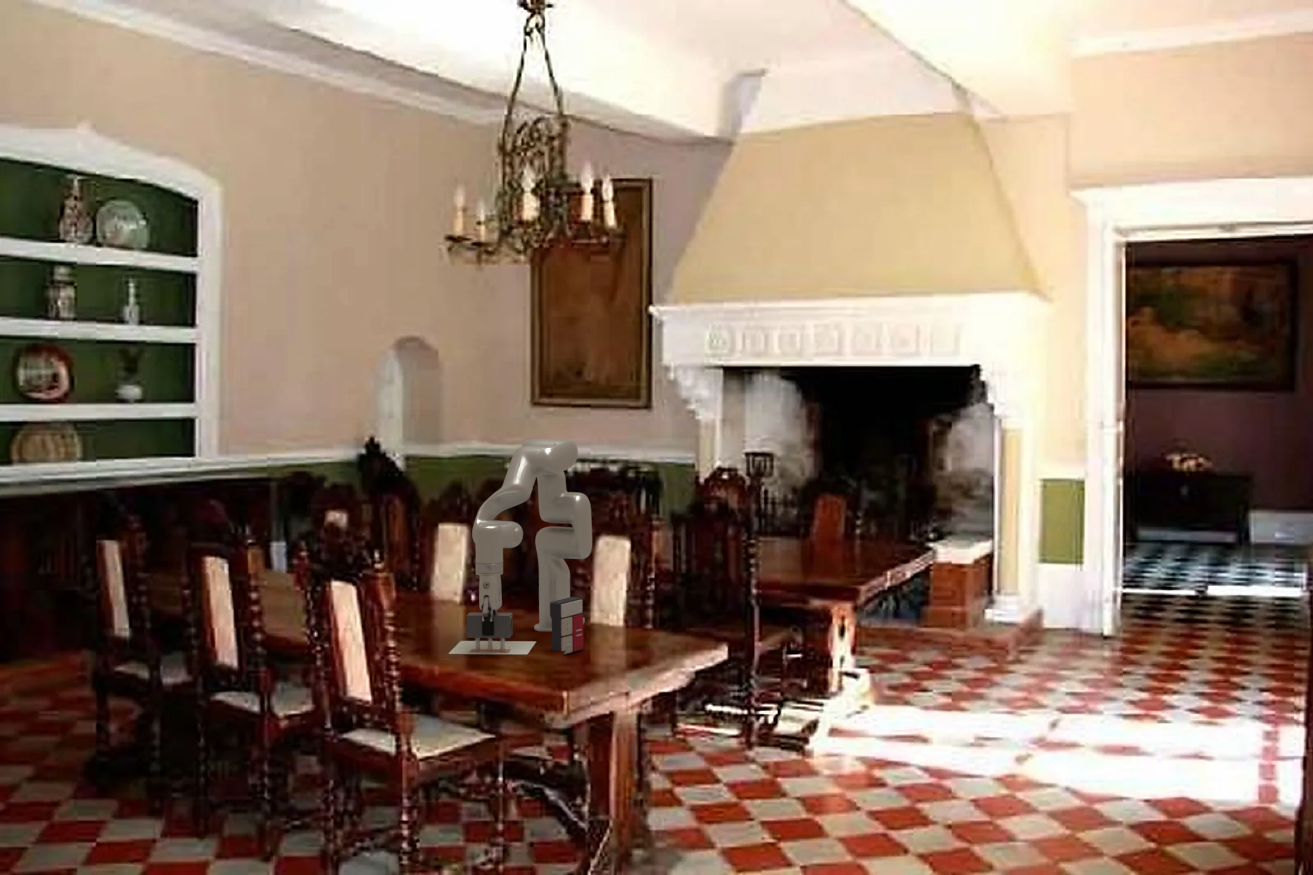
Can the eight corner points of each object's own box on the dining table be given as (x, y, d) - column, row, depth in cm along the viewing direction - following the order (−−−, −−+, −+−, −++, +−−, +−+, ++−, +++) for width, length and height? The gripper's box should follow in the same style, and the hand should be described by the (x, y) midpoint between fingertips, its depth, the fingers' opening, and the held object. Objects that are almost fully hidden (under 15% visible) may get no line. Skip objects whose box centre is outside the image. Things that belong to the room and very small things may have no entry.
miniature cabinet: (562, 656, 388) (562, 603, 387) (549, 655, 390) (549, 602, 389) (585, 650, 397) (584, 597, 396) (572, 648, 399) (572, 596, 399)
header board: (536, 646, 402) (536, 626, 402) (527, 659, 384) (527, 638, 384) (460, 646, 403) (460, 625, 403) (448, 659, 385) (448, 637, 385)
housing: (512, 634, 390) (512, 612, 390) (509, 638, 385) (509, 615, 385) (470, 634, 391) (469, 612, 391) (466, 637, 386) (466, 615, 386)
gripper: (497, 573, 379) (498, 639, 380) (507, 564, 396) (507, 628, 397) (470, 573, 379) (470, 639, 380) (481, 564, 396) (481, 628, 397)
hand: (489, 633), depth 388 cm, fingers closed on housing, 4 cm apart
